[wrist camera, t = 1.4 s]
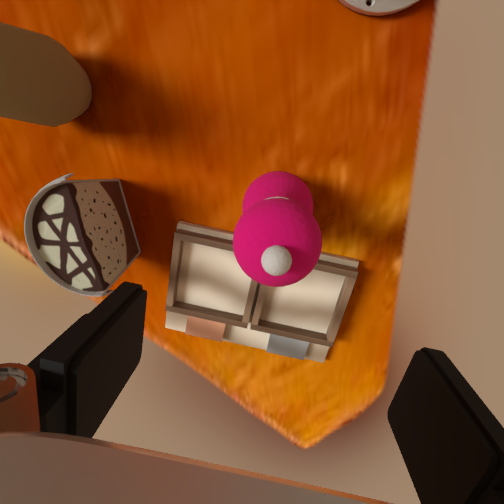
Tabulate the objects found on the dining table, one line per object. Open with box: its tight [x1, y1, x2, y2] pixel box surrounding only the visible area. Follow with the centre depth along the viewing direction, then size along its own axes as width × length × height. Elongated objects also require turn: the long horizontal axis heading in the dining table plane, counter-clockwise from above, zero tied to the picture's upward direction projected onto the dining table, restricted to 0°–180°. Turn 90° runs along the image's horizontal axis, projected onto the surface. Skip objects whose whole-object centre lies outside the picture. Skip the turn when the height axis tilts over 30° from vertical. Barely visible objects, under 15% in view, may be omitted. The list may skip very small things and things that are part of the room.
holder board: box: [165, 221, 359, 363], centre depth 39 cm, size 15×22×2 cm
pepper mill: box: [233, 171, 322, 287], centre depth 26 cm, size 7×7×20 cm
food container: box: [24, 173, 141, 297], centre depth 34 cm, size 12×6×10 cm, turn 9°
